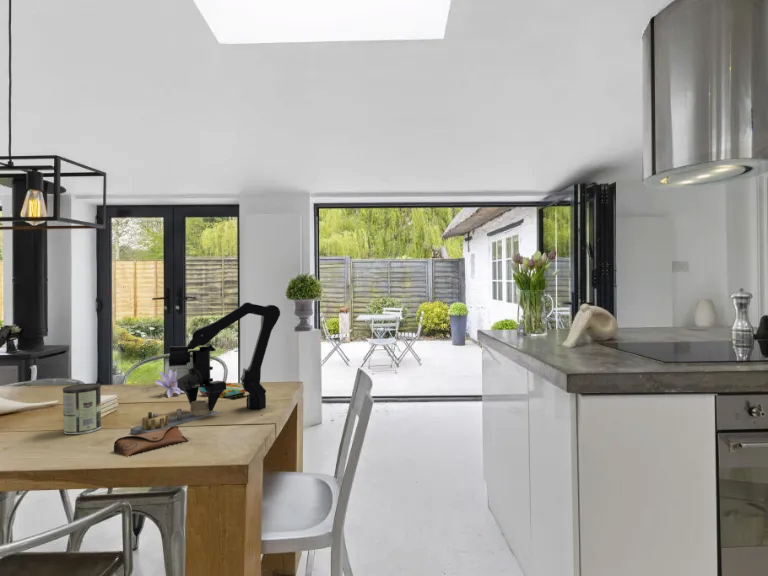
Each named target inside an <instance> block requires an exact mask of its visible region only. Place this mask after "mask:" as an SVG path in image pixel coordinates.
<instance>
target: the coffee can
mask: <svg viewBox="0 0 768 576" xmlns="http://www.w3.org/2000/svg"><path fill="white" fill-rule="evenodd" d="M101 388H102V384H101V383H99V382H98V383H95V382H91V383H81V384H73V385H69V386H65V387H63V388H62V400H63V402H62V404H63V405H62V406H63V407H62V409H63V410H62V411H63V412H62V413H63V432H64V433H65V434H64V433H63V434H64V435H66V434H79V435H85V434H84V433H86V434H90V433H94V432H97V431H100V430H101V429H102V415H101V414H102V412H101V411H102V406H101V405H102V404H101V397H102V396H101ZM89 432H90V433H89Z"/></svg>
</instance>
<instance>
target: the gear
mask: <svg viewBox="0 0 768 576" xmlns="http://www.w3.org/2000/svg"><path fill="white" fill-rule="evenodd" d="M189 406H190V412H189V413H191V416H192V415H194V416H202V415H203V416H205V415H207V414H212V412H213V411H214V409H213V410H212V411H209V404H208V399H198V400H196V401H193V402H191V403H189Z"/></svg>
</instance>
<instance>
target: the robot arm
mask: <svg viewBox="0 0 768 576" xmlns="http://www.w3.org/2000/svg"><path fill="white" fill-rule="evenodd" d="M249 314H252V315H257V316H261V317H260V330H259V333H258V336H257V339H256V342H255V347H254V351H253V353H252V356H251V361H250V363H249V366H247V368H243V370H242V374H241V377H240V381H241V386H243V388H244V390H245V391H247V392H246V393H248V394H246V401H245V402H246V408H247V409H248V410H250V411H252V410H253V411H257V410H259V411H260V410H263V409H266V408H267V399H266V398H267V395H266V392H267V390H266V389H265V387H264V386H263V385H262V384H261V378H262V377H261V375H262V372H261V371H262V364H263V362H264V357H265V355H266V352H267V348H268V344H269V340H270V337H271V334H272V330H273V329H274V327H275V326H276V324H277V323H278V320H279V318H280V316H281V310H280V308H279V307H278V306H276V305H275V304H267V305H259V304H254V303H251V302H246V301H245V302H243V304H241V305H240V306H238V307H237V308H235V309H233V310H232V311H230V312H228V313H227V314H225V315H224V316H222V317H220V318H219V319H218V320H216V321H214V322H212V323H209V324H206V325H204V326H201V327H199V328H197V329H195V330H193V332H192V336H191V339H190V341H189V342H188V343H187V345H184V346H182V345H181V346H175V345H174V346H169V354H168V355H169V356H168V367H169V368H170V367H171V368H172V367H183V366H184V367H185V366H186V367H187V365H188V364H189V363H191V354H192V367H190V368H189V370H188V373H187V374H184V375H183V376H180V377H179V378H178V379H176V380H177V385H176V386H177V388H179V389H180V390H181V391H183V392H184V393H183V394H185V395H186V397H187V400H188V402H189V404H190V403H191V402H193V401H197V398H198V394H199V393H198V392H199V387H202V388H205V390H206V392H205V394H206V395H207V396H206V397H207V400H208V404H209V411H212V410H213V411H214V408H215V406H216V404H217V402H218V400H219V399H220V398H219V396H220V394H221V393H222V392H223V391H224V390H225V389H226V383H227V382H225V381H223V380H215V381H214V378H213V377H212V378H211V371H212V370H213V369H214V366H212V365H211V352H216V351H217V349H216V348H215V347H214V346H213V345H212V343H210V341H211V340H213V339H214V338H215V337H216V336H217V335H218V334H219V333H220V332H222V331H223V330H225V329H226V328H228V327H229V326H231V325H232V324H234V323H236V322H237V321H239V320H241V319H242V318H243V317H246V316H247V315H249ZM208 343H210V344H208ZM206 345H208V346H206ZM198 346H199V347H198ZM196 348H199V349H196Z"/></svg>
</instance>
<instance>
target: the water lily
mask: <svg viewBox="0 0 768 576" xmlns="http://www.w3.org/2000/svg"><path fill="white" fill-rule="evenodd" d="M177 375H178V373H177V370H175V371H172V369H169V371H168V373H167V374H165V373H164V372H162V371H159V376H160V378H161V379H162V380H160V379H158V380H155V381H154V383H156V384H157V385H158V386H160V387H163V388H164V389H166V390H165V392H164V393H166V395H167V397H168V398H169V397H170V396H172V397H173V395H174V393H175V394H177V395H181V393H183V394H185V393H184V392H183V391H181V390H180V389H179V388H177V380H178V379H176V378H177V377H178V376H177Z"/></svg>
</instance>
